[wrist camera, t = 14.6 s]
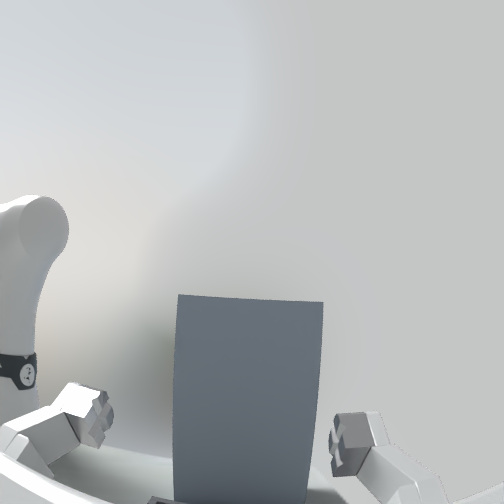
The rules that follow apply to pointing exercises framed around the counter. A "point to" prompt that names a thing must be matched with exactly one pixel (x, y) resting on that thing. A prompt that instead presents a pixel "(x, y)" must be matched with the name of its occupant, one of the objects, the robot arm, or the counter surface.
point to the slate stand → (244, 399)
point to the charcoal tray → (162, 501)
